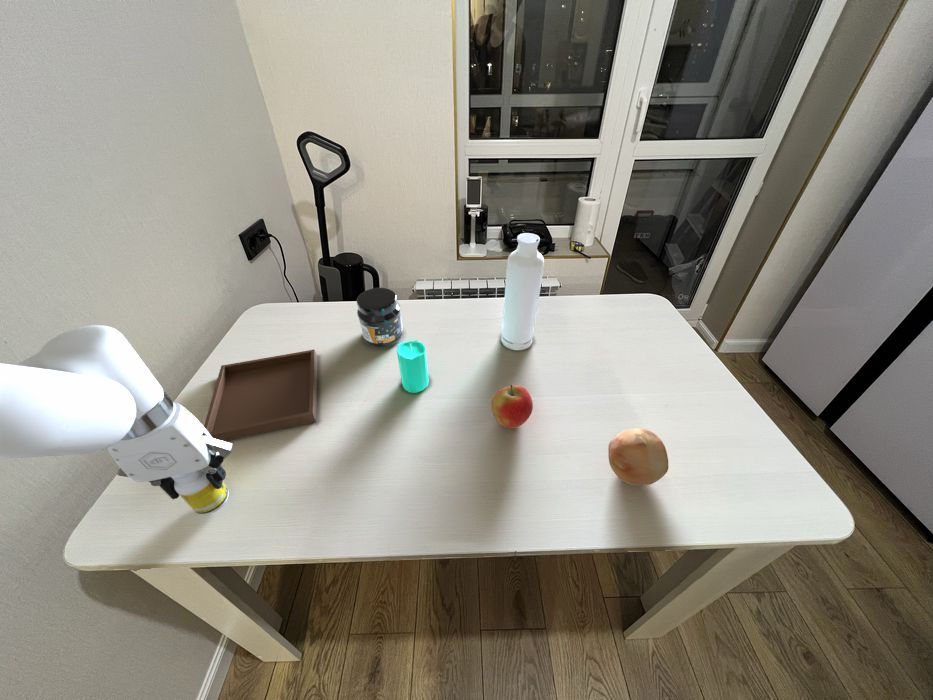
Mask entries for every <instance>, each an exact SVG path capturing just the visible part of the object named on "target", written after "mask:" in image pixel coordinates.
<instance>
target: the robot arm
mask: <svg viewBox="0 0 933 700" xmlns="http://www.w3.org/2000/svg"><path fill="white" fill-rule="evenodd" d="M233 448H234V444H233V443H232V442H228V441H221V440H217V439H214V438H212V437H211V435H210V434H209V432H208V431H207V430H206V428H205V427H204V424H203V423H201V422H200V420H199V419H198V418H197V417H196V416H195V415H194V414H193V413H192V412H190V411H189V410H188V409H187V408H186V407H184V406H183V405H182V404H181V403H178V402H173V400H172V399H171V397H170V395H168V393H167V392H166V391H165V389H164V387H162V385H161V384H160V383H159V381H158V380H157V378H155V376H154V375H153V373H152V372H151V370H150V369H149V368H148V366H147V365H146V364H145V362H144V361H143V360H142V359H141V356H139V354H138V353H137V352H136V350H135V349H134V347H133V346H132V344H130V342H129V341H128V340H127V338H126V337H125V336H124V334H123V333H121V332H120V331H119V330H117V329H116V328H115V327H112V326H108V325H101V324H92V325H85V326H80V327H76V328H73V329H70V330H68V331H65V332H63V333H61V334H58V335H56V336H55V337H53V338H51V339H50V340H49V341H47V342H46V343H45V344H44V345H43V346H42V348H41V349H40V350H39V351H38V352H37V353H35V354H33V355H31V356H30V357H28V358H26V359H24V360H22V361H20V362H17V363H16V364H9V363H3V362H2V363H0V459H1V460H2V459H21V458H40V457H41V458H42V457H56V456H57V457H58V456H59V457H60V456H77V455H79V456H80V455H88V454H89V455H90V454H95V453H97V452H100V451H104V450H106V451H107V453H108V454H109V455H110V457H111V458H112V460H113V461H114V463H115V464H116V465H117V466H118V467H119V468H118V471H117V473H116V475H117V476H118V477H125V478H129V479H131V480H132V481H134V482H136V483H147V482H148V483H150V485H151V486H153V487H160V488H161V489H162V490H163V491H164V492H165V493H166V494H167V496H169V497H170V499H172V500H176V499H178V498H179V497H180V495H179V494H178V493H177V492H176V490H175V488H174V482H175V481H174V480H173V479H172V476H177V475H181V474H186V473H190V472H194V471H198V470H201V469H202V470H203V471H205V472H207V473H206V478H207V479H208V480H209V482H210V483H211V484H212V485H213V486H214V488H215V489H220V488H221V487H222V482H223V483H224V481H225V480H226V477H227V471H226V470H225V469H224V468H223V466H222V464H223V462H224V460H225V459H226V458H227V457H228V456H229V455H230V454H231V453H232V452H233Z"/></svg>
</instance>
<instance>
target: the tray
mask: <svg viewBox="0 0 933 700" xmlns="http://www.w3.org/2000/svg"><path fill="white" fill-rule="evenodd" d="M316 352H317V351H316V350H315V349H314V348H313V349H310V350H309V349H308V350H304V351H297V352H292V353H286V354H280V355H274V356H268V357H263V358H258V359H252V360H245V361H240V362H233V363H229V364H222V365H220V369H219V372H218V376H217V379H216V382H215V386H214V389H213V393H212V396H211V399H210V403H209V407H208V410H207V413H206V417H205V419H204V423H203V426H204V427H205V428H206V430H207V431H208V432H209V434H210V435H211V437H212V438H214V439H217V440H221V441H224V442H228V441H231V440H232V441H233V440H237V439H242V438H247V437H251V436H256V435H262V434H266V433H269V432H275V431H280V430H285V429H289V428H294V427H298V426H304V425H308V424H313V423H316V422H317V403H318V402H317V401H318V400H317V399H318V390H317V389H318V356H317V353H316Z"/></svg>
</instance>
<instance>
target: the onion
mask: <svg viewBox="0 0 933 700" xmlns="http://www.w3.org/2000/svg"><path fill="white" fill-rule="evenodd" d="M607 448H608V449H607V450H608V451H607V452H608V453H607V454H608V457H607V458H608V463H609V466H610V468H611V470H612V471H613V473H614V475H616V477H617V478H618V479H620V480H621V481H622V482H624V483H626V484H629V485H633V486H647V485H652V484H655V483H656V482H658V481H659V480H661V479H663V477H665V475H666V474H667V473H668V471H669V456H668V453H667V448H666V446H665V444H664V442H663V441H662V439H661V438H660V437H659V436H658V435H657V434H656V433H655V432H653V431H651V430H649V429H646V428H642V427H641V428H640V427H633V428H628V429H624V430H622V431H621V432H619V433H617V434H616V435H615V436H614V437H613V438H611V440H610V441H609V442H608V447H607Z"/></svg>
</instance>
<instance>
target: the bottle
mask: <svg viewBox="0 0 933 700" xmlns="http://www.w3.org/2000/svg"><path fill="white" fill-rule="evenodd" d="M540 240H541V238H540V236H539V235H538V234H535V233H530V232H523V233H520V234H518V235H517V236H516V241H517V243H518V244H517V246H516V249H515V250H514V251H512V252H511V253H509V255H508V257H507V260H506V261H507V262H506V273H505V284H504V285H505V287H504V296H503V297H504V299H503V311H502V324H501V336H500V341H501V343H502V344H503V346H504V347H506V348H507V349H510V350H511V351H512V350H513V351H523V350H527V349H528V348H530V347H532V344H533V341H534V340H533V339H534V334H535V327H536V320H537V313H538V308H539V307H538V306H539V300H540V294H541V287H542V281H543V274H544V268H545V259H544V256H543V255H542V254H541V252H539V249H538V248H539V247H538V246H539V244H540Z"/></svg>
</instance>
